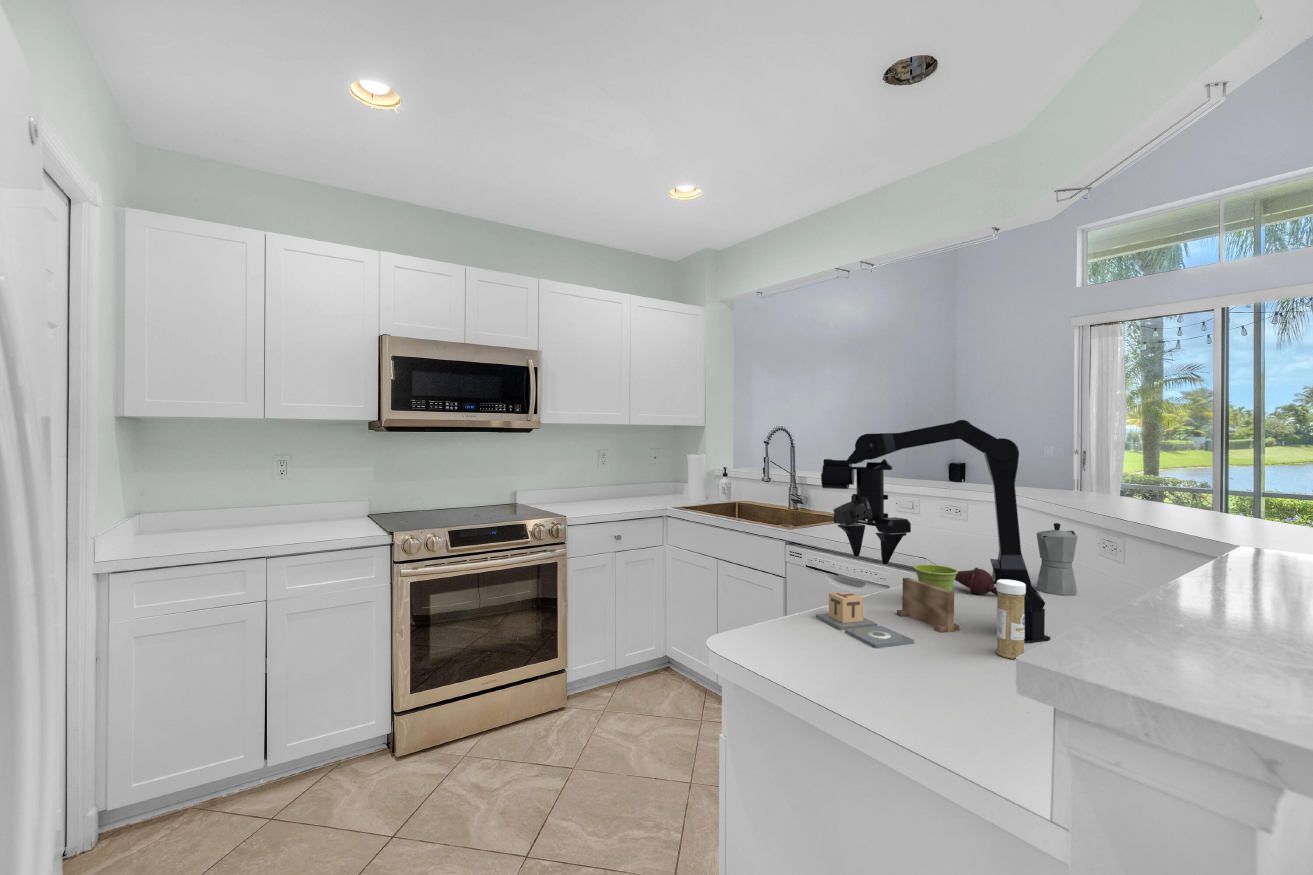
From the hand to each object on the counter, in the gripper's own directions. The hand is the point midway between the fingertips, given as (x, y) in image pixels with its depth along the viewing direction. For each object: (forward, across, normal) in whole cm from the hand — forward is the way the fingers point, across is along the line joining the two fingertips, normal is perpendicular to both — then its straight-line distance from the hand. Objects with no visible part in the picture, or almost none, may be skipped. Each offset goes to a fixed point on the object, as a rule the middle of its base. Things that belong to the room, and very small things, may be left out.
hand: (870, 560), depth 129 cm
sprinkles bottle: (+13, +28, +8) cm, 31 cm away
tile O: (+12, +13, -9) cm, 20 cm away
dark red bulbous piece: (+13, -8, +40) cm, 43 cm away
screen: (+12, +8, +8) cm, 17 cm away
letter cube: (+12, +2, -8) cm, 14 cm away
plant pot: (+13, -2, +21) cm, 24 cm away
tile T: (+12, +2, -8) cm, 15 cm away
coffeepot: (+13, -3, +64) cm, 65 cm away
